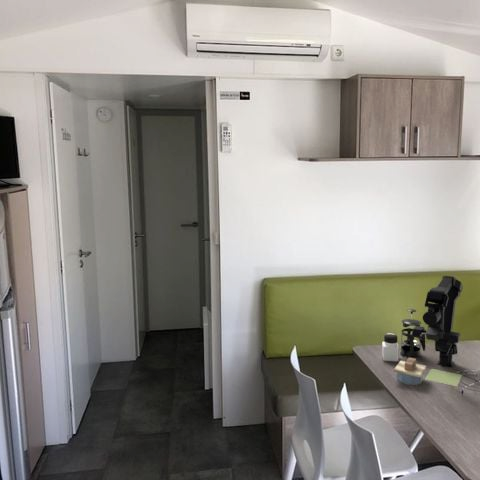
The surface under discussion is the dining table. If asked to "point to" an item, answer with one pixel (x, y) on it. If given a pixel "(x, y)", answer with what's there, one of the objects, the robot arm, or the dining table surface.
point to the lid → (410, 367)
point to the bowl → (409, 379)
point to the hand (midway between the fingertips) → (435, 352)
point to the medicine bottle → (390, 348)
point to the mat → (443, 377)
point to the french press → (410, 338)
